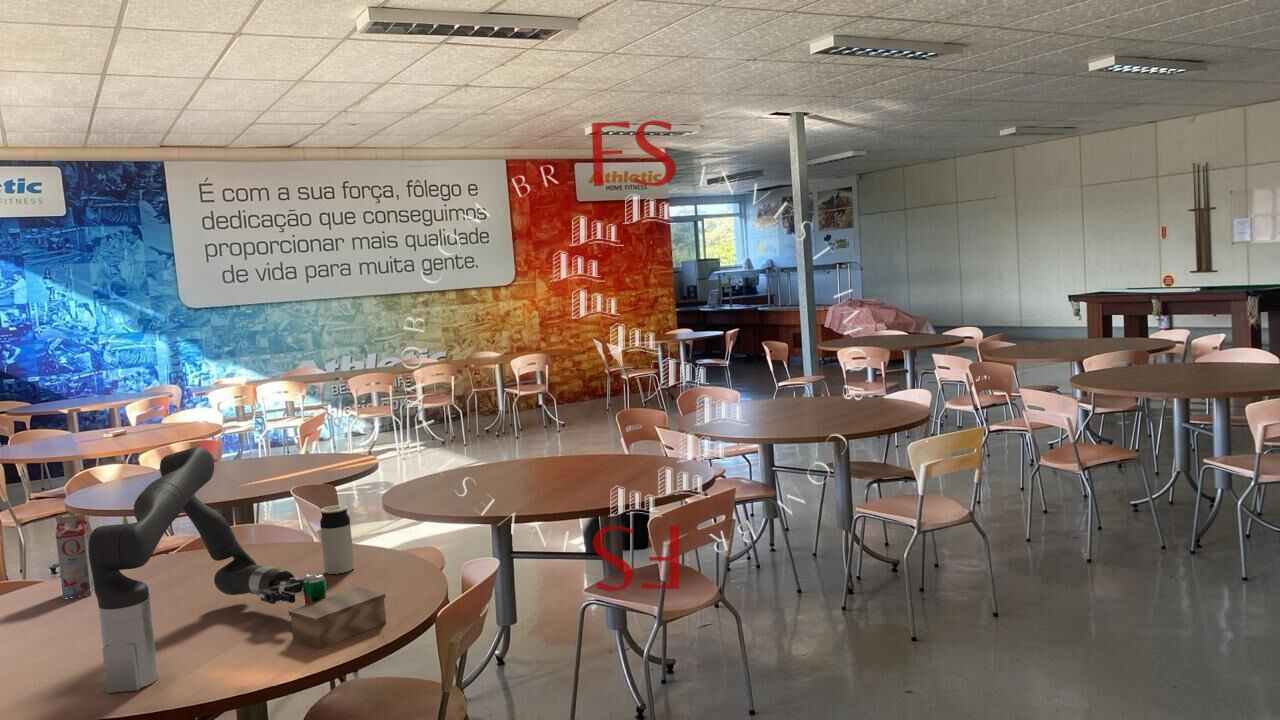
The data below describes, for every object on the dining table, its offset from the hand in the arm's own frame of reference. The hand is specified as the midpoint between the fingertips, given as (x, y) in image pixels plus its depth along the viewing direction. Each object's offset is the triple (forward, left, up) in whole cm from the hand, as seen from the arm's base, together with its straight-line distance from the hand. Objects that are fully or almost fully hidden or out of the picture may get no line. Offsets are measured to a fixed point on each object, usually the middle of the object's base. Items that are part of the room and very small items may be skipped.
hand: (310, 593), depth 228 cm
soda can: (-1, -2, -8) cm, 8 cm away
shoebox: (-7, -8, -8) cm, 13 cm away
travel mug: (+44, +5, -8) cm, 45 cm away
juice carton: (+41, +75, -8) cm, 85 cm away
